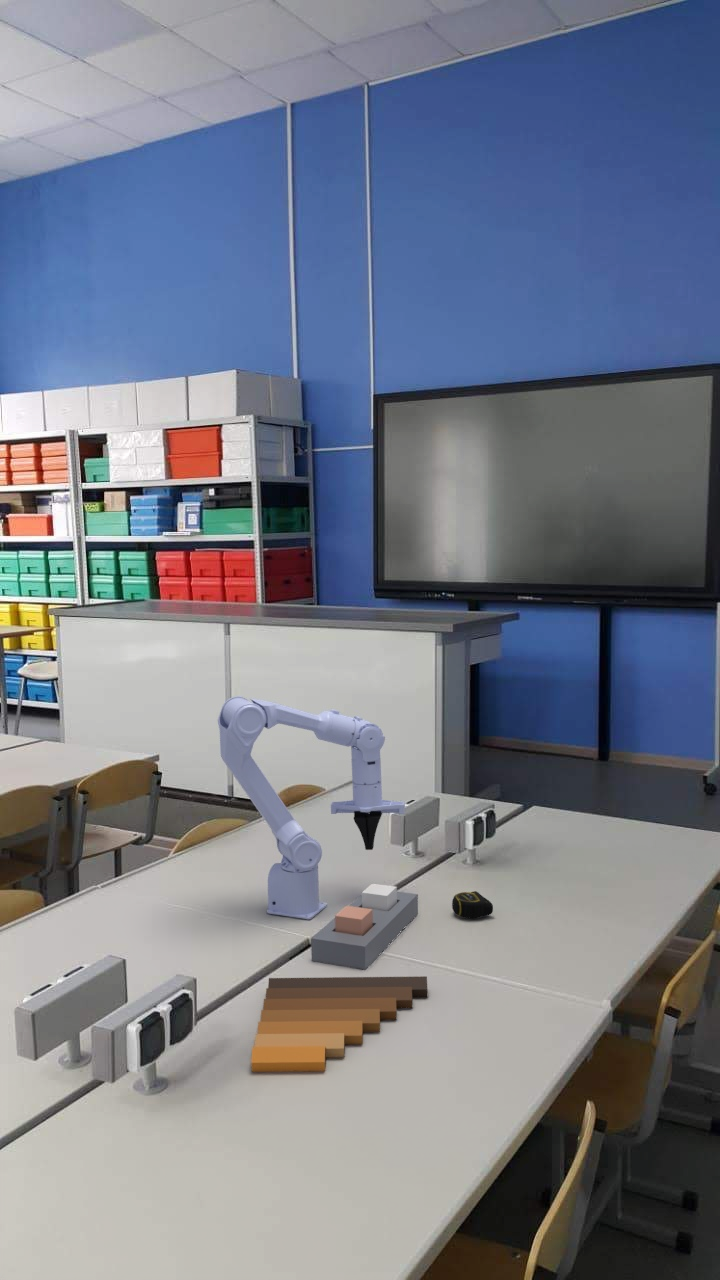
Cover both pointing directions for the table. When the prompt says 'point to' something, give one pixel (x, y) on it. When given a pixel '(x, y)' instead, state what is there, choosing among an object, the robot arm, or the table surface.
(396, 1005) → the pan flute
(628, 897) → the table surface
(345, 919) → the terracotta key
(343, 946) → the key panel
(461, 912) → the tape measure
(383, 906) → the white key
